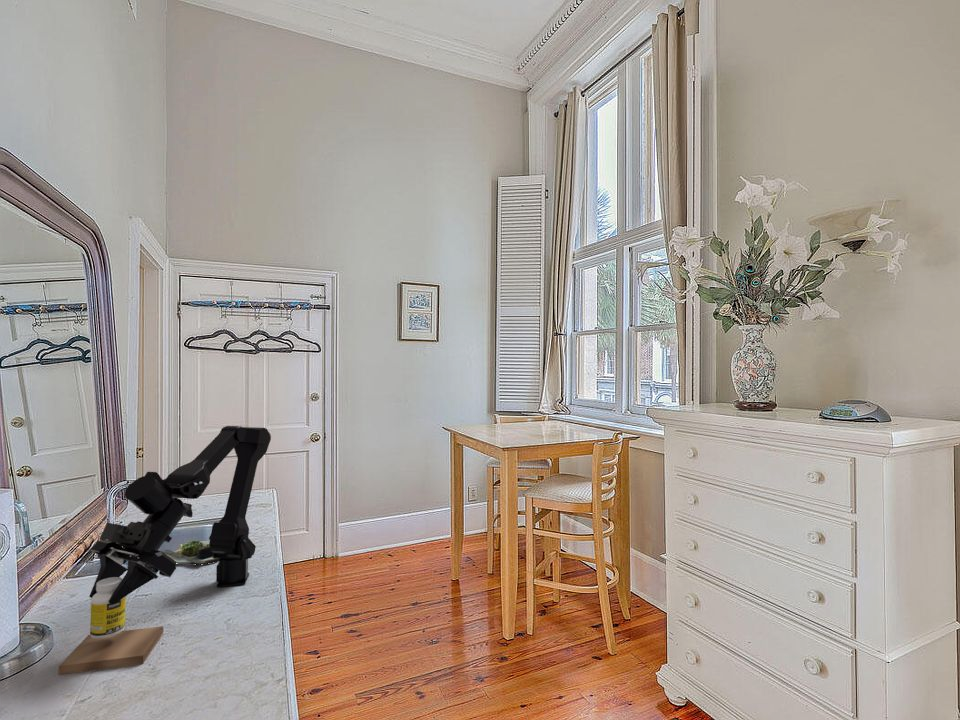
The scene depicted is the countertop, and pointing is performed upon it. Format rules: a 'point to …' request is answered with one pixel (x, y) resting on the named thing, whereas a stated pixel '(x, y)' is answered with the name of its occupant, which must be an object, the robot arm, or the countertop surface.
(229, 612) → the countertop surface
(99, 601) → the supplement bottle
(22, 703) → the countertop surface
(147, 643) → the serving board
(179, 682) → the countertop surface
